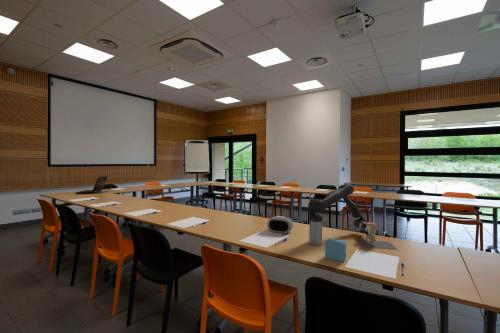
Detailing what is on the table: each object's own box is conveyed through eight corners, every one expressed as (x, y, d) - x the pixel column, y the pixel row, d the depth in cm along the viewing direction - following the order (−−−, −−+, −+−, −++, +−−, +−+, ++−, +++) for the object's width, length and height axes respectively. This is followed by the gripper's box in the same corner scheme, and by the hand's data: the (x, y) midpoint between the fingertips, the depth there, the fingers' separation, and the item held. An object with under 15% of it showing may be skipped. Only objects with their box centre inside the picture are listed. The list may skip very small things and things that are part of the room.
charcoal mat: (362, 248, 176) (362, 247, 176) (355, 240, 194) (356, 239, 194) (398, 250, 172) (398, 250, 172) (389, 242, 190) (389, 241, 190)
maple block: (367, 243, 181) (368, 224, 180) (365, 240, 186) (366, 222, 185) (375, 243, 180) (375, 224, 179) (373, 241, 185) (373, 222, 184)
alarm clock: (267, 232, 214) (267, 216, 214) (270, 229, 223) (270, 214, 223) (290, 235, 206) (290, 219, 206) (292, 232, 215) (293, 216, 215)
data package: (346, 260, 155) (346, 241, 155) (344, 262, 151) (344, 243, 151) (327, 255, 162) (327, 237, 162) (324, 257, 159) (325, 239, 158)
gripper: (356, 222, 198) (361, 228, 181) (375, 223, 195) (382, 229, 178) (355, 231, 198) (361, 238, 181) (374, 233, 195) (382, 239, 179)
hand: (371, 233), depth 180 cm, fingers closed on maple block, 5 cm apart
